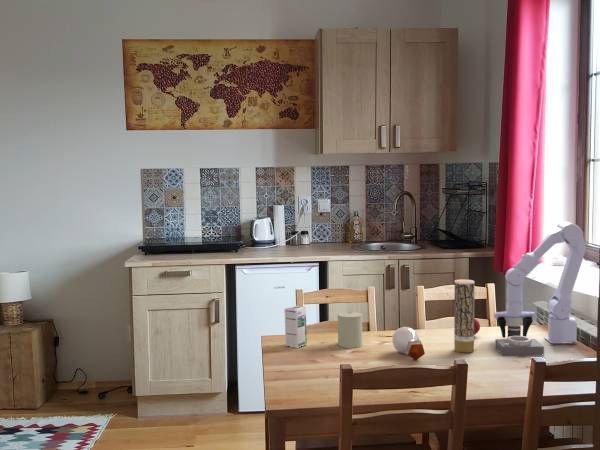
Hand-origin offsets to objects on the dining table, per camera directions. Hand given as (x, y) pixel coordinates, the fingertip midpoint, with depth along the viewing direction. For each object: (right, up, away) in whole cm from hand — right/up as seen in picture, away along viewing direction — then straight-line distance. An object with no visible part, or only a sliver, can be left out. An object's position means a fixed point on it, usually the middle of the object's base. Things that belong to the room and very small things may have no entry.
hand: (514, 336), depth 258 cm
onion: (-14, -1, +8) cm, 16 cm away
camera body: (-2, -3, -14) cm, 14 cm away
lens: (0, -1, 0) cm, 1 cm away
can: (-61, -3, -2) cm, 61 cm away
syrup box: (-81, -3, -2) cm, 81 cm away
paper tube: (-21, -3, -12) cm, 25 cm away
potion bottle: (-42, -4, -16) cm, 45 cm away
